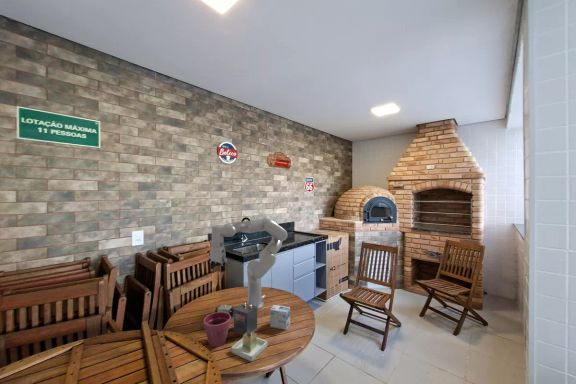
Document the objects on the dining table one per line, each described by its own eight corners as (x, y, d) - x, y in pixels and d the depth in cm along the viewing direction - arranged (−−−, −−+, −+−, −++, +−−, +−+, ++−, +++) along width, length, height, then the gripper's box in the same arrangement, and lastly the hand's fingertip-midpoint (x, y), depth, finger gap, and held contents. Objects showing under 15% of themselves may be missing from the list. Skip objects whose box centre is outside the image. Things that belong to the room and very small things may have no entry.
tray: (248, 338, 135) (248, 333, 135) (267, 346, 128) (267, 341, 128) (230, 352, 123) (230, 347, 123) (251, 361, 116) (251, 356, 116)
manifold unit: (244, 323, 149) (244, 300, 148) (257, 328, 144) (257, 304, 143) (233, 331, 141) (233, 306, 140) (246, 336, 136) (246, 310, 135)
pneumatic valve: (232, 328, 144) (232, 308, 144) (214, 326, 146) (214, 306, 146) (236, 323, 149) (236, 303, 149) (218, 321, 152) (218, 302, 151)
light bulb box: (290, 324, 148) (290, 306, 148) (286, 330, 142) (286, 312, 142) (274, 321, 152) (274, 304, 152) (269, 327, 145) (269, 309, 145)
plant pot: (215, 331, 141) (215, 309, 141) (236, 337, 136) (236, 314, 135) (197, 346, 128) (197, 321, 127) (219, 353, 122) (219, 327, 122)
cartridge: (248, 343, 129) (248, 328, 129) (256, 346, 126) (256, 331, 126) (242, 349, 125) (242, 333, 124) (250, 352, 122) (250, 336, 122)
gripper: (231, 244, 160) (231, 270, 161) (212, 241, 169) (212, 266, 169) (222, 247, 154) (223, 274, 154) (204, 243, 163) (204, 269, 163)
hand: (217, 270), depth 162 cm, fingers open, 9 cm apart
